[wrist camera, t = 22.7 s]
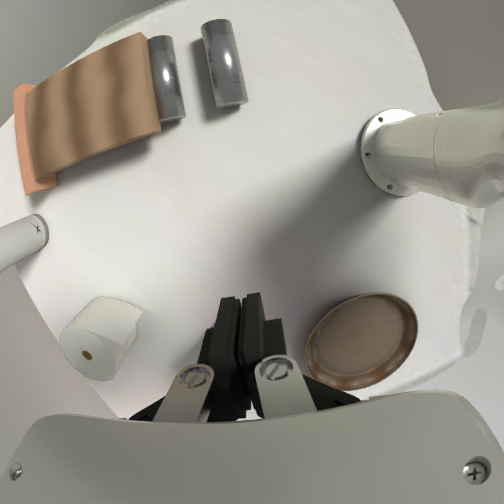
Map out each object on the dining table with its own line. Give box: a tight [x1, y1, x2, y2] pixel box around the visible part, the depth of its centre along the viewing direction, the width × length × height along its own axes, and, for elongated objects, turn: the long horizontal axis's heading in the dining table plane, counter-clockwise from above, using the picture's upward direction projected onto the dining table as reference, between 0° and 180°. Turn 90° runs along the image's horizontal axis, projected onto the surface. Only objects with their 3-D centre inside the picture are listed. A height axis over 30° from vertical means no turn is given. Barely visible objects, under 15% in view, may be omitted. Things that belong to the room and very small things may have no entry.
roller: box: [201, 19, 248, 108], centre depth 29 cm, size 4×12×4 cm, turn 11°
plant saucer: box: [304, 293, 418, 391], centre depth 43 cm, size 21×21×3 cm
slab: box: [26, 32, 162, 179], centre depth 28 cm, size 20×14×2 cm
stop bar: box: [14, 83, 58, 195], centre depth 31 cm, size 2×18×6 cm, turn 11°
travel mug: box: [0, 214, 49, 273], centre depth 30 cm, size 6×7×20 cm
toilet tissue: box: [60, 297, 144, 381], centre depth 40 cm, size 11×12×10 cm
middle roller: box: [147, 35, 186, 124], centre depth 30 cm, size 4×12×4 cm, turn 11°
